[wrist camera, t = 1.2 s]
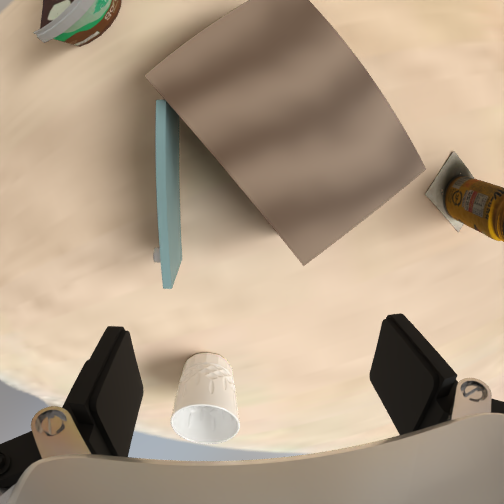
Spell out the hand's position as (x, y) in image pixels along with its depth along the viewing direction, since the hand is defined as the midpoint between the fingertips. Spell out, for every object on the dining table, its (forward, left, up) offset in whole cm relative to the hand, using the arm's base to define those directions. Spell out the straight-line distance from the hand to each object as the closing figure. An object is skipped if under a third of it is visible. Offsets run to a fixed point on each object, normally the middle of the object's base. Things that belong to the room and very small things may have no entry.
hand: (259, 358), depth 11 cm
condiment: (+16, +24, -24) cm, 37 cm away
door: (-6, -4, -23) cm, 24 cm away
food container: (-28, +4, -24) cm, 38 cm away
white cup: (+15, -17, -24) cm, 33 cm away
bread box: (-4, +9, -24) cm, 26 cm away
